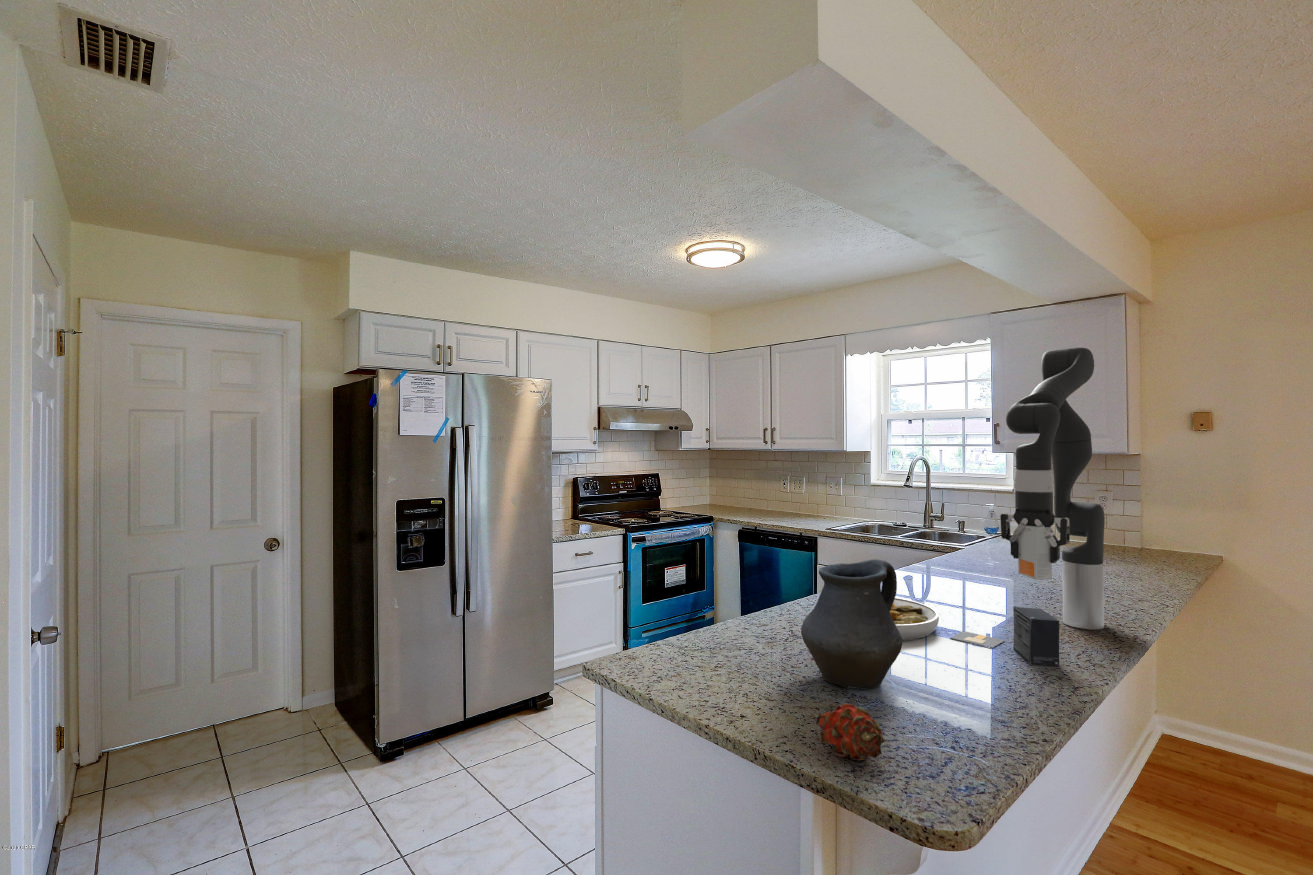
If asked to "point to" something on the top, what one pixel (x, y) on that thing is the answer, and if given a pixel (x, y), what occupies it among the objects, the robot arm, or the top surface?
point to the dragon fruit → (851, 732)
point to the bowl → (913, 618)
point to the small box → (1036, 636)
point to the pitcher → (854, 624)
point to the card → (977, 639)
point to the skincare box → (1034, 553)
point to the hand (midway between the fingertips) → (1034, 560)
